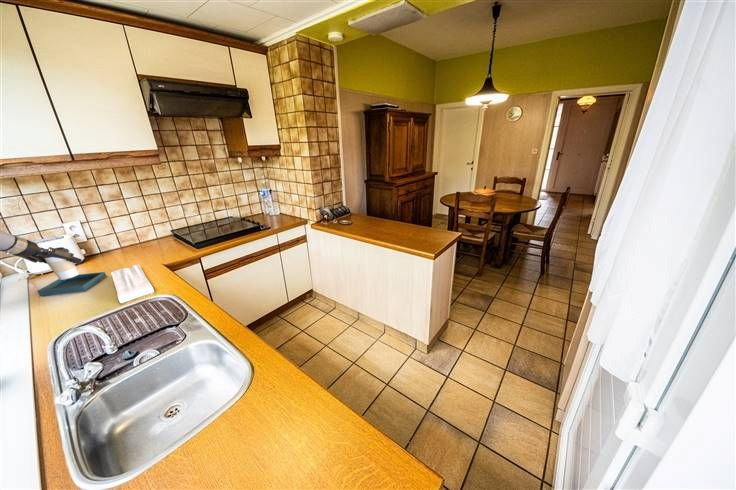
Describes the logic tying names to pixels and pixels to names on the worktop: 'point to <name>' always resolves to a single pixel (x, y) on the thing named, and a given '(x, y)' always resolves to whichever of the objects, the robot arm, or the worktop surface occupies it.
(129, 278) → the hand towel
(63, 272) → the coffee cup
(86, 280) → the tray
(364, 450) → the worktop surface
